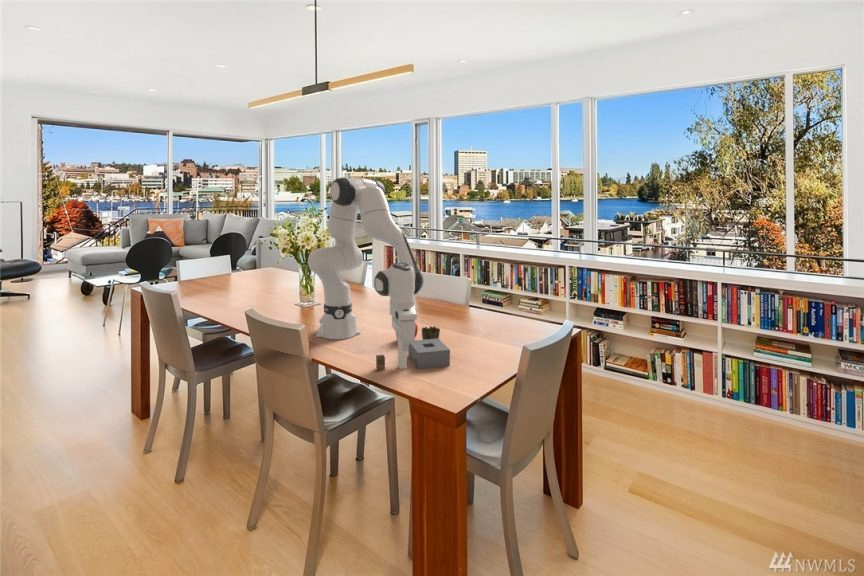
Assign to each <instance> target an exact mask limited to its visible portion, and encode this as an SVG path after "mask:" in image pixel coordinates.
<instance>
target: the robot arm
mask: <svg viewBox="0 0 864 576" xmlns="http://www.w3.org/2000/svg"><path fill="white" fill-rule="evenodd" d="M329 194H330V198H331V200H332V202H331V205H330V210H329V217H328V221H327V222H328V223H327V229H326V230H327V233H328V235H329V236H330V237H331V238H333V239H334V240H335V241H334V242H335V243H334V246H329V247H328V246H327V247H319V248H317V249H314V250H313V251H311V252H310V253H309V255H308V257H307V264H308V267H309V269H310V271H311V272H312V273H314V274H316V275H317V277H318V278H319V279H320V281H321V284H322V287H323V297H324V298H323V299H324V304H323V315H322V316H321V318H319V325H320V326H319V329H318V331H317V333H316V337H317V338H324V339H328V340H346V339H349V338H352V337H353V338H354V336H356V335H361V330H359V329H358V328H357V319H356V315H355V314H354V313H353V305H352V301H351V286H350V284H349V283H348V282H347V281H345V280H343V279H342V276H341V272H348V271H352V270H354V269H358V268H359V267H361V265H362V264H363V262H364V255H363V252H362V250H361V248H359V246H358V245H357V243H356V239H355V233H356V232H355V231H356V225H357V218H358V212H359V215H360V220H361V225H362V228H363V230H364V232H365V233H366V235H368V237H371V238H373V239H374V240H377V241H380V242H383V243H386V244H388V245H390V246H391V247H392V248H393V249H394V250H395V251H396V254H397V257H398V260H399V262H395V263H392V264H391V265H390V267H389V268H387V269H383V270H379V271H378V272H377V273H376V275H375V276H374V279H373V281H374V283H373V287H374V290H375V292H376V293H377V294H379V295H380V296H382V297H389V315H390V316H391V327H392V329H393V330H394V332H395V336H396V342H397V344H398V335H399V336H400V338H401V339H402V340H403V351H404V352H407V353H409V344H410V342H413V341H414V340H415V339H416V337H415V323H416V320H417V318H418V313H417V311H416V300H415V295H416V294H418V293H419V292H420V290H422V287H423V286H424V275H422V272H421V270H420V269H419V266H418V265H417V263H416V260H415V257H414V255H413V252H412V250H411V247H410V244H409V241H408V239H407V237H406V234H405V232H404V231H403V229H402V228H401V227H399V225H398V224H396V222H395V220H394V219H393V217H392V214H391V210H390V206H389V203H388V200H387V198H386V189H385V186H384V184H383V183H382V182H381V181H380V180H377V179H373V178H372V179H369V178H365V177H348V178H347V177H338V178H335V179H334V180H333V181H332V183H331V185H330V191H329Z"/></svg>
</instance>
